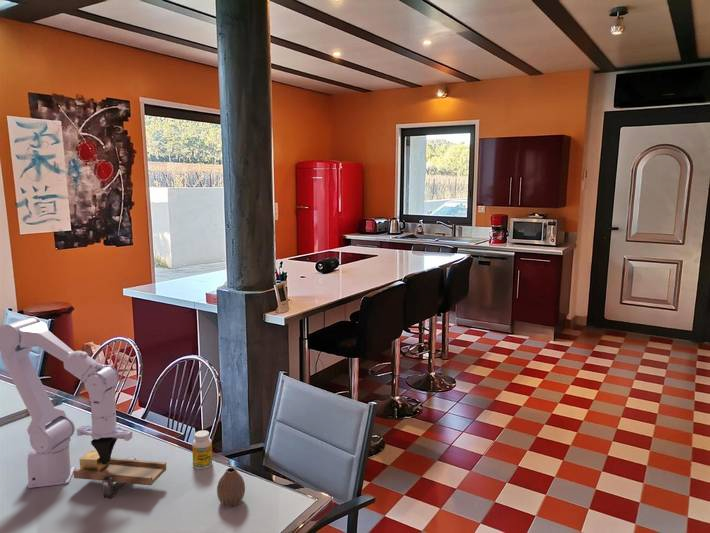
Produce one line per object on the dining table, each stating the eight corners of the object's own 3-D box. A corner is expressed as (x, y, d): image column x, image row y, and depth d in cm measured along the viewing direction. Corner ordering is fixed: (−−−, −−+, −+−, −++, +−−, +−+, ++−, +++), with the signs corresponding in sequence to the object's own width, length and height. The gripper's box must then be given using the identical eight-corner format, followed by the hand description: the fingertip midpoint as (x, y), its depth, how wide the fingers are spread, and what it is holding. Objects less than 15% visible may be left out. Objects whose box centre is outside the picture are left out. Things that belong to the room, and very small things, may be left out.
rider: (80, 471, 134) (79, 459, 133) (92, 462, 138) (90, 450, 138) (98, 472, 133) (96, 459, 133) (109, 463, 138) (107, 451, 137)
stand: (102, 499, 129) (101, 480, 129) (130, 473, 142) (129, 456, 141) (109, 500, 129) (108, 481, 128) (137, 473, 141) (136, 456, 141)
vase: (250, 497, 132) (250, 465, 131) (235, 513, 126) (235, 479, 124) (227, 491, 134) (226, 460, 133) (211, 506, 128) (211, 474, 127)
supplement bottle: (208, 458, 151) (208, 427, 149) (214, 466, 146) (214, 434, 145) (190, 463, 148) (189, 431, 146) (195, 471, 143) (195, 439, 142)
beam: (73, 477, 133) (73, 470, 132) (93, 462, 140) (92, 456, 140) (151, 485, 129) (150, 478, 129) (166, 469, 137) (166, 462, 137)
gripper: (67, 417, 130) (70, 467, 132) (120, 422, 128) (122, 473, 130) (86, 406, 137) (88, 454, 139) (136, 411, 135) (138, 459, 137)
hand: (106, 462), depth 135 cm, fingers closed
